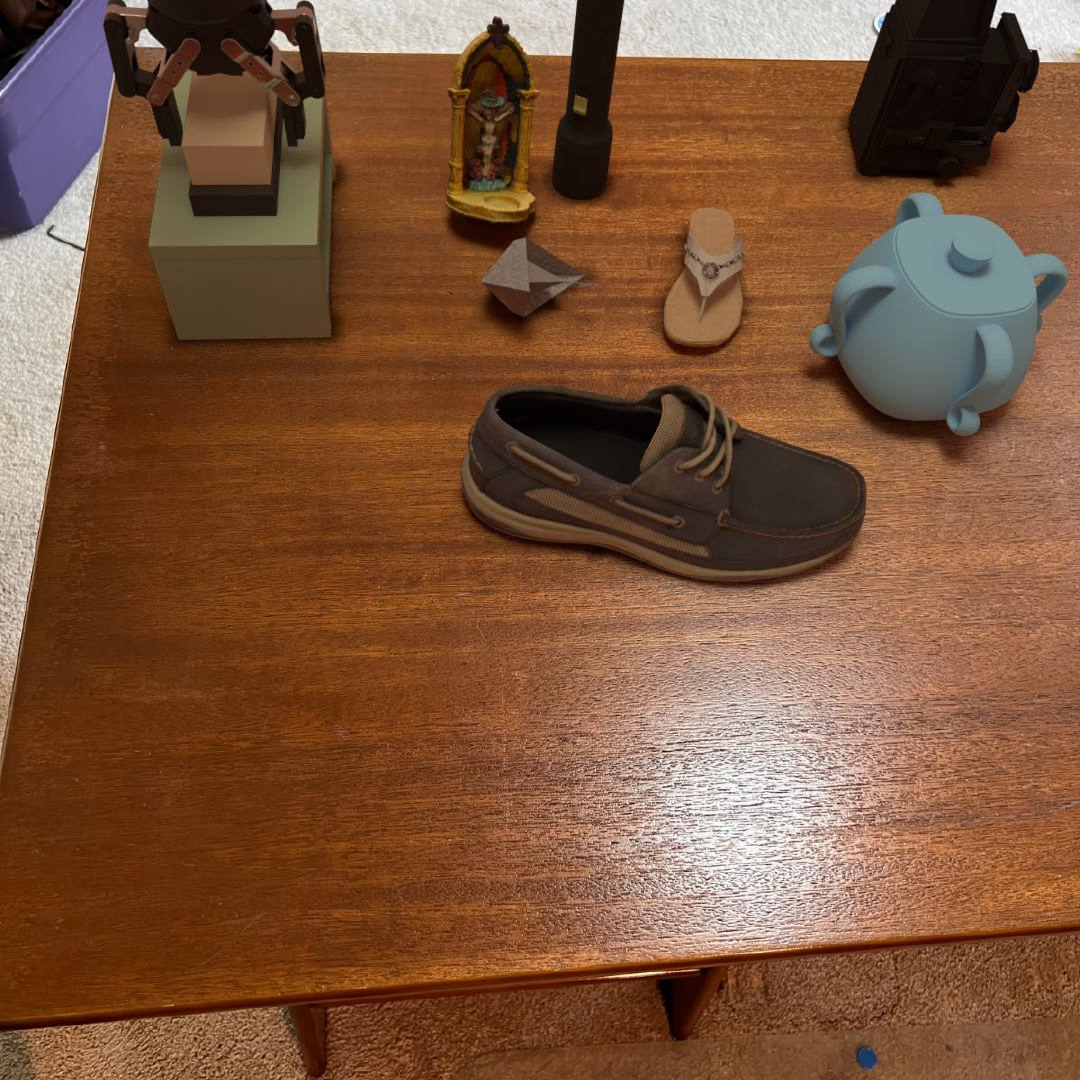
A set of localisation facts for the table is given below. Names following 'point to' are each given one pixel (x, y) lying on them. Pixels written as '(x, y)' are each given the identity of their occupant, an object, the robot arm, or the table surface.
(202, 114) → the board eraser
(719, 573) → the boat shoe
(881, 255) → the decorative pot
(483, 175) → the shrine
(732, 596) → the table surface
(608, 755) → the table surface
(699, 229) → the sandal
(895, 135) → the camera
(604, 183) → the flashlight
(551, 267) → the paper boat
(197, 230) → the olive green lidded box
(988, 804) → the table surface
